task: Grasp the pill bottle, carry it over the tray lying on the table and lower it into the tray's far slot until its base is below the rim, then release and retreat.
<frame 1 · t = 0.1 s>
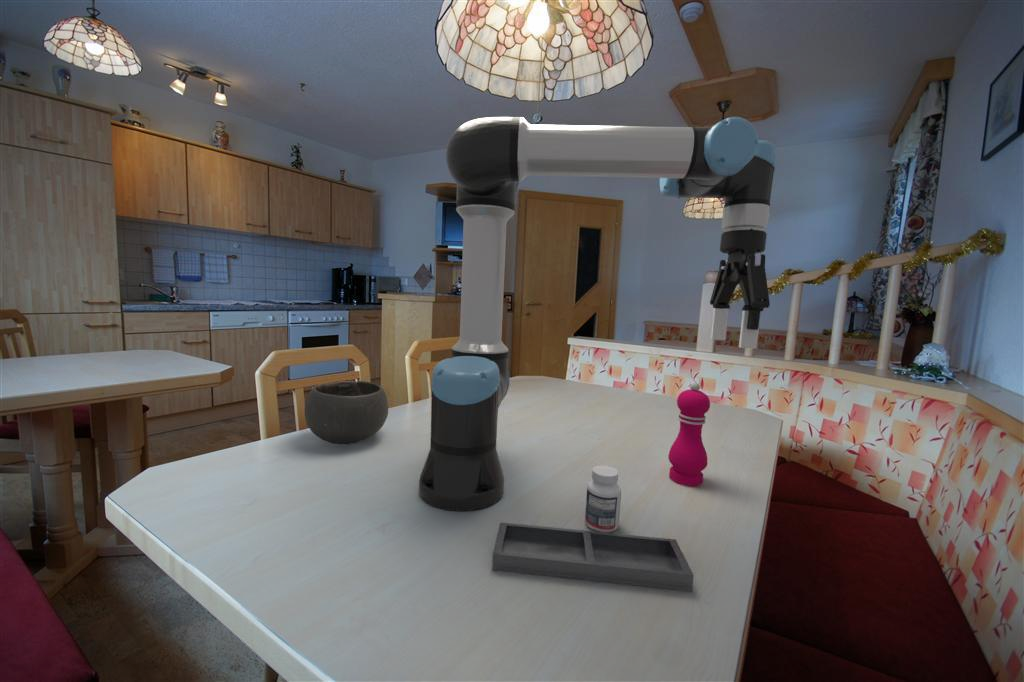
hand: (731, 343, 81), 28 cm above the table, fingers open, 13 cm apart
pepper mill: (685, 480, 85), on the table
pill bottle: (601, 525, 67), on the table
bowl: (347, 441, 97), on the table
tray: (587, 561, 57), on the table
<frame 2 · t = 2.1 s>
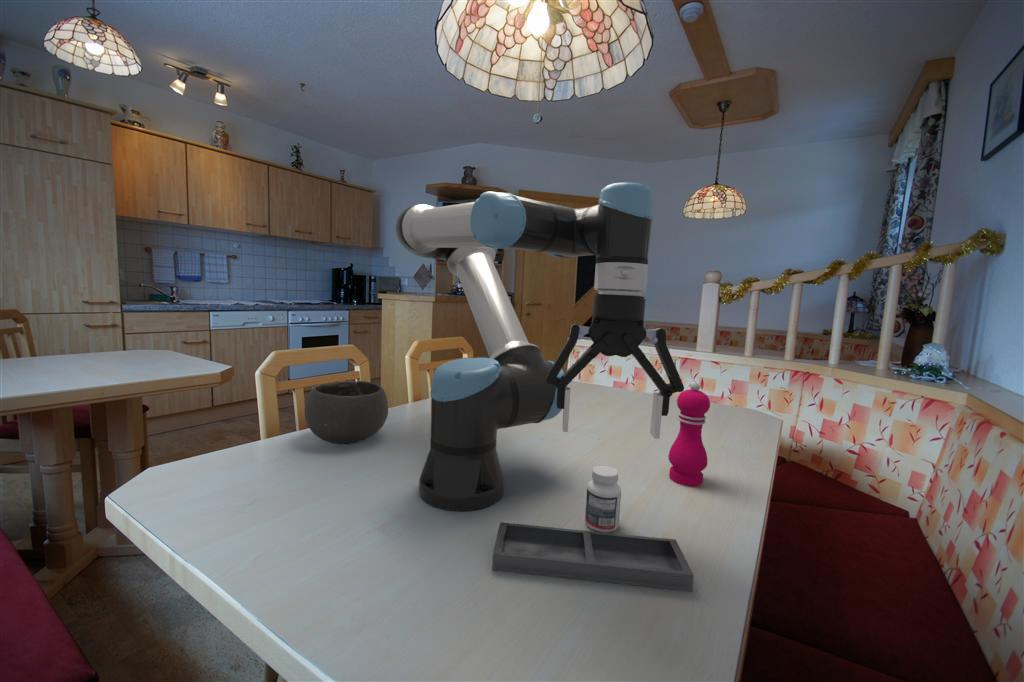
hand: (609, 432, 65), 15 cm above the table, fingers open, 13 cm apart
nothing on the table moved.
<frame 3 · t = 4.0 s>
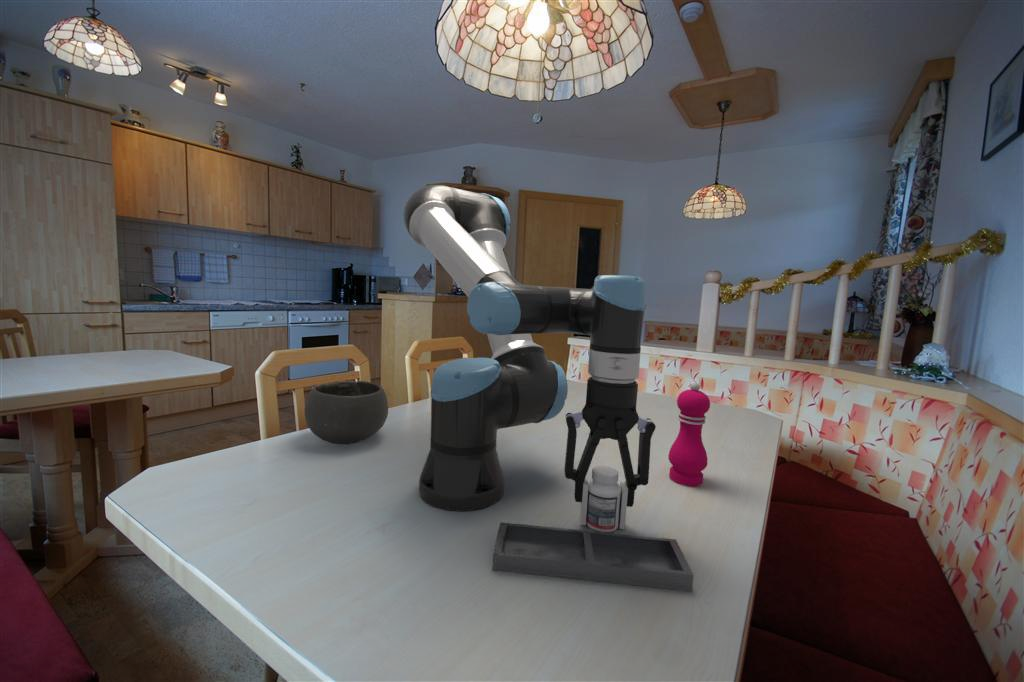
hand: (601, 522, 66), 0 cm above the table, fingers closed on pill bottle, 5 cm apart
pill bottle: (601, 525, 67), on the table, touching gripper
everything else where it was.
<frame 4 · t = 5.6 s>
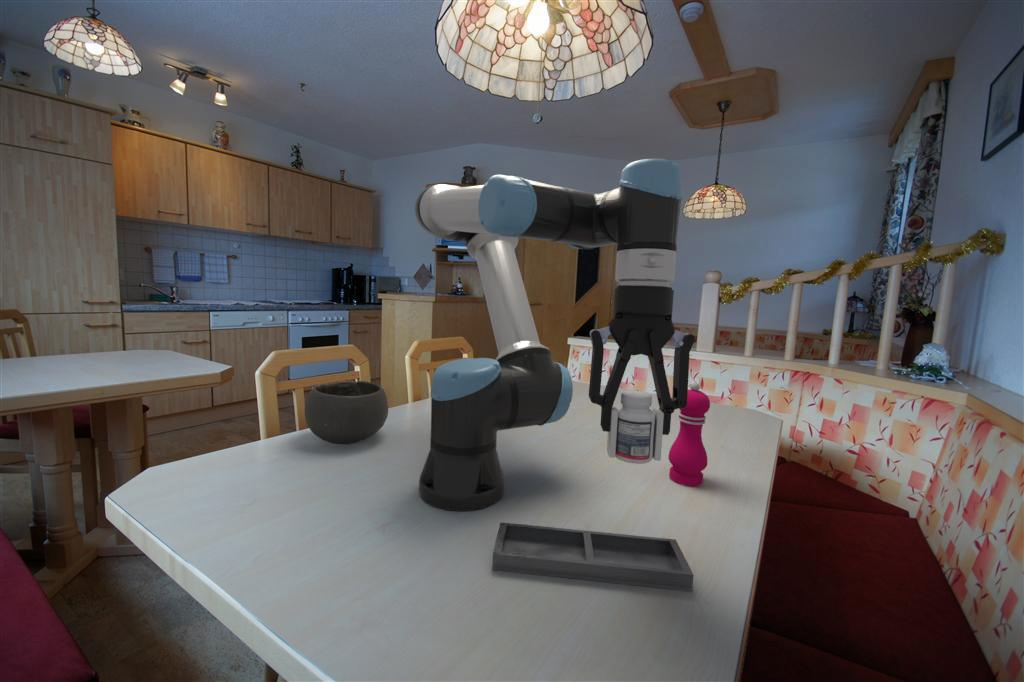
hand: (632, 455, 58), 14 cm above the table, fingers closed on pill bottle, 5 cm apart
pill bottle: (632, 458, 58), point 14 cm above the table, touching gripper
everything else where it was.
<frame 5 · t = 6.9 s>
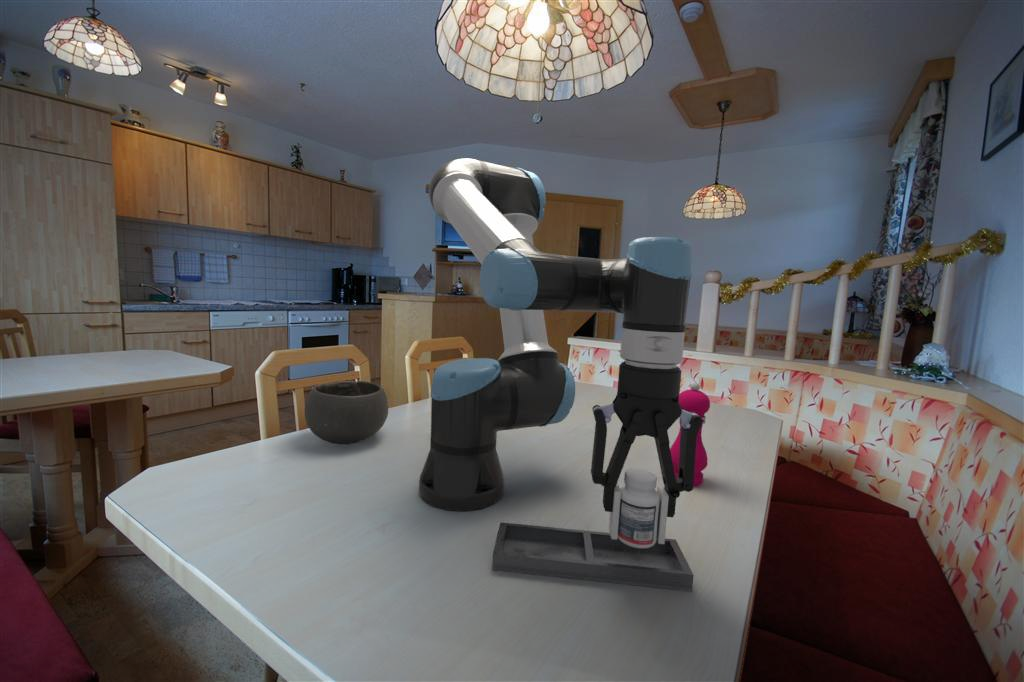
hand: (635, 535, 56), 4 cm above the table, fingers closed on pill bottle, 5 cm apart
pill bottle: (635, 539, 56), point 4 cm above the table, touching gripper
everything else where it was.
when the fingers open (2 cm above the table, at t = 7.6 s): pill bottle drops 1 cm, resting on tray.
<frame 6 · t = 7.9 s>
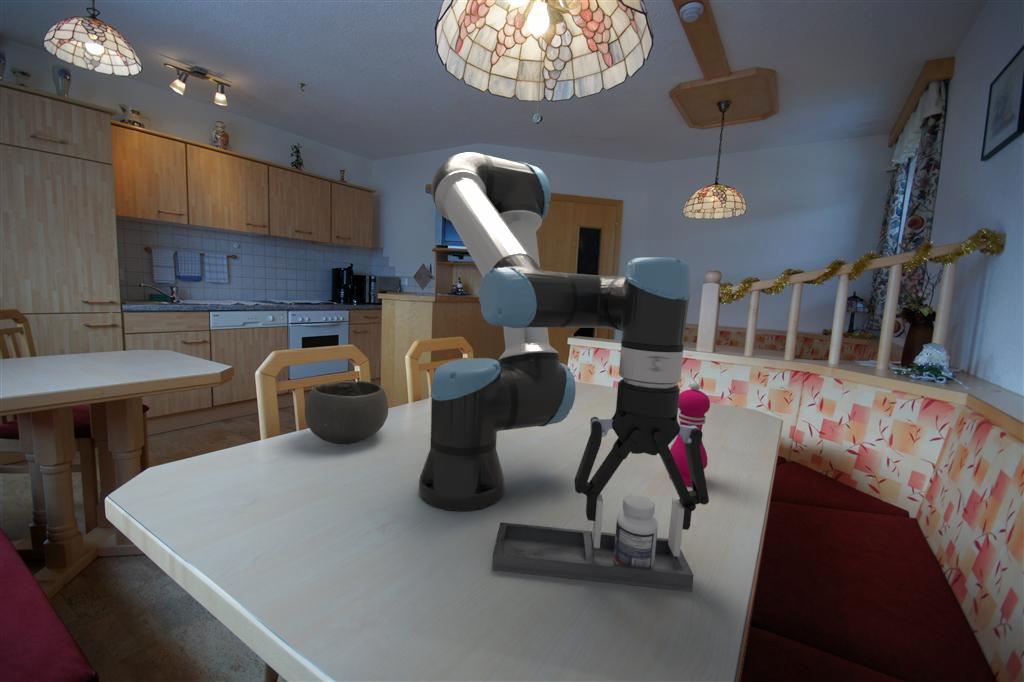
hand: (634, 546, 56), 3 cm above the table, fingers open, 9 cm apart
pill bottle: (633, 564, 56), resting on tray
everything else where it was.
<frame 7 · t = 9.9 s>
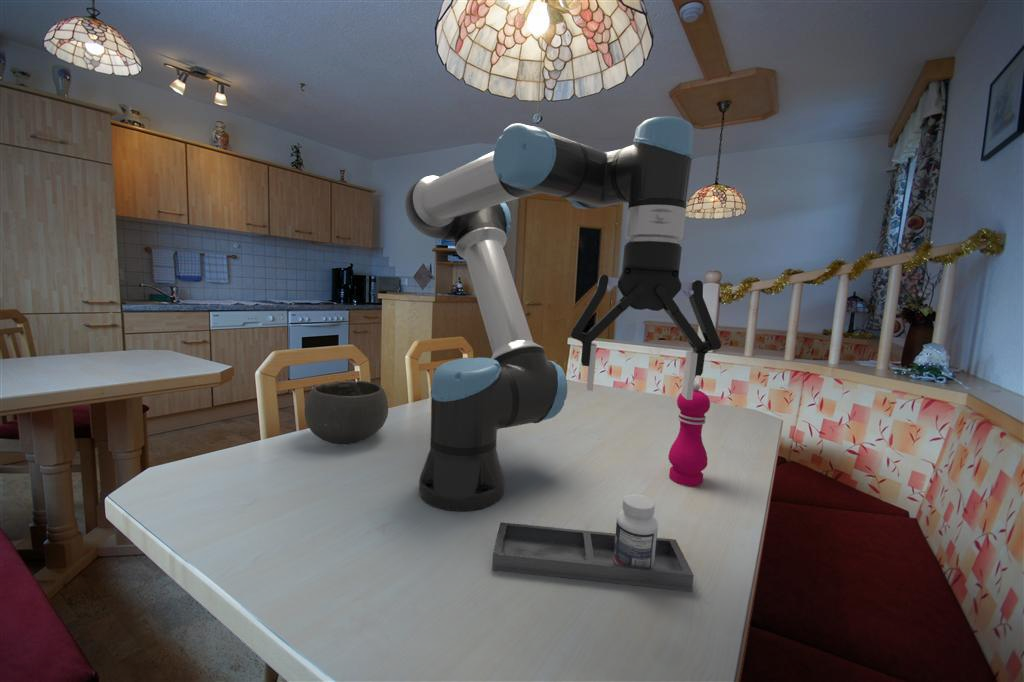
hand: (637, 393, 60), 22 cm above the table, fingers open, 13 cm apart
nothing on the table moved.
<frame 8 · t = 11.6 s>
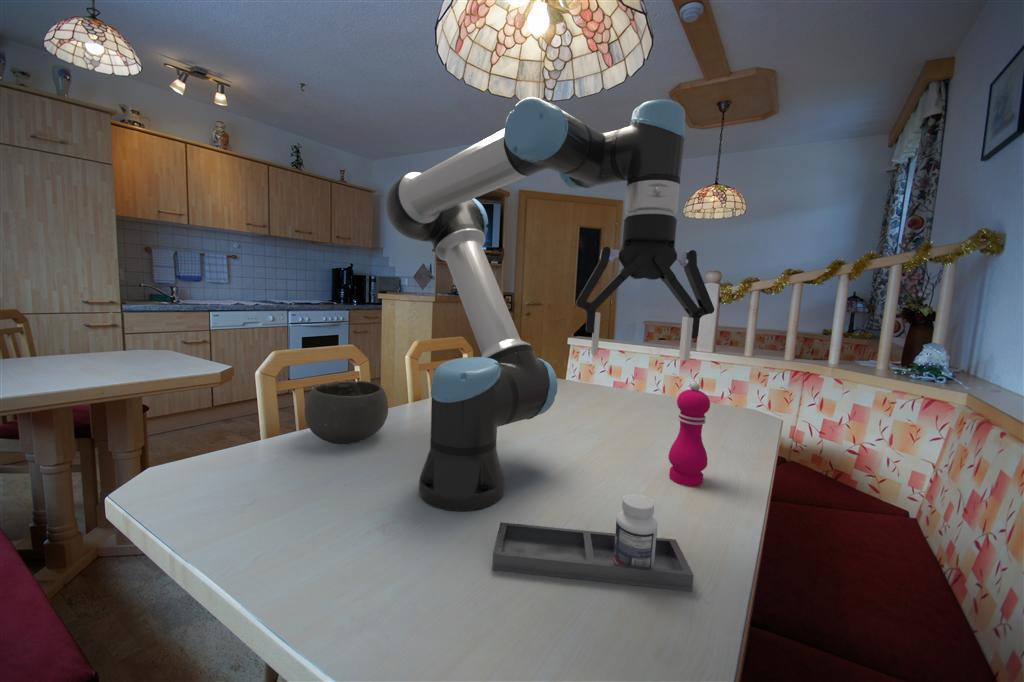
hand: (638, 357, 65), 27 cm above the table, fingers open, 13 cm apart
nothing on the table moved.
at the end: pill bottle 0.1 cm from the target spot on the tray, point 0.2 cm above the tray's base; pill bottle tilted 0°; the gripper is holding nothing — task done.
